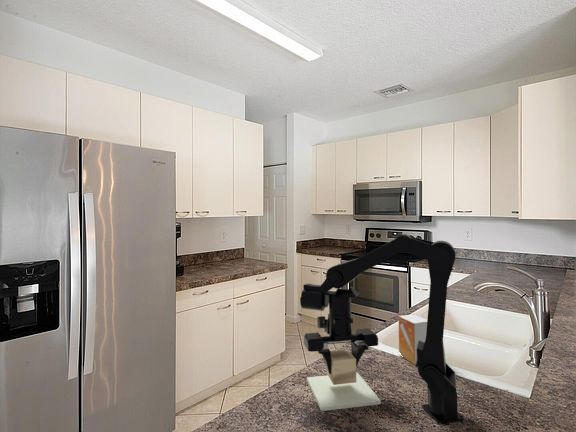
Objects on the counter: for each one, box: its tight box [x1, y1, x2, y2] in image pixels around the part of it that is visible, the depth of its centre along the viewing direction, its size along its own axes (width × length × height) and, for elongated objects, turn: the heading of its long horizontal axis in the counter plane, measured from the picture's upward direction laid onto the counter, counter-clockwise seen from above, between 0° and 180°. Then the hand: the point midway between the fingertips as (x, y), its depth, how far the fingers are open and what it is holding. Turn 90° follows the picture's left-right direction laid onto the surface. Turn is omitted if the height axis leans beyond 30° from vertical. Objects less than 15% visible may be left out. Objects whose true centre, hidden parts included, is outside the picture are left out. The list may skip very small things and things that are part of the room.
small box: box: [398, 314, 427, 366], centre depth 105 cm, size 8×6×13 cm
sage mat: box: [306, 371, 382, 412], centre depth 86 cm, size 15×15×1 cm
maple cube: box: [326, 349, 357, 385], centre depth 86 cm, size 6×6×6 cm
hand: (341, 372), depth 86 cm, fingers closed on maple cube, 6 cm apart
